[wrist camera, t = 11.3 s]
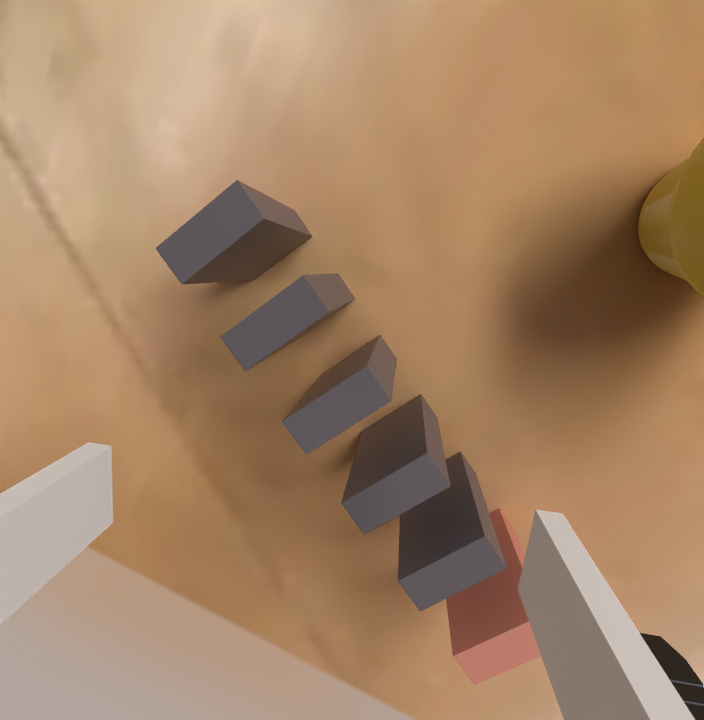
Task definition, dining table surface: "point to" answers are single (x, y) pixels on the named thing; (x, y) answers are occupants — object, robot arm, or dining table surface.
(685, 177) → the plant pot
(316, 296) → the domino
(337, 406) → the domino
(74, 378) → the dining table surface
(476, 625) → the domino
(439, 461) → the domino
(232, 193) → the domino
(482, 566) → the domino
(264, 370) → the dining table surface
